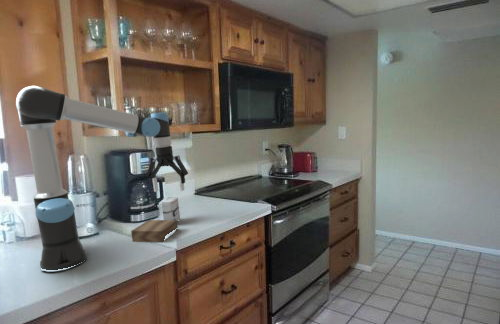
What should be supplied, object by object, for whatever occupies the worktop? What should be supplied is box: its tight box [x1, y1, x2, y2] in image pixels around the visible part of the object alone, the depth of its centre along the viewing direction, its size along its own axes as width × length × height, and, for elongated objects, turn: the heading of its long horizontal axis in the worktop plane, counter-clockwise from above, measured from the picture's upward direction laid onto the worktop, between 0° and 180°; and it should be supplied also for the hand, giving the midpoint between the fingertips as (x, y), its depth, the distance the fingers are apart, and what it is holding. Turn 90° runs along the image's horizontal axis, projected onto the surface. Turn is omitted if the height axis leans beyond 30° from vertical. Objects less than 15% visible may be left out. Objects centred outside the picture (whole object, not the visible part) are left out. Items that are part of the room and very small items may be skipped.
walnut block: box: [130, 219, 179, 243], centre depth 146 cm, size 14×14×5 cm
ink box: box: [161, 196, 181, 221], centre depth 161 cm, size 8×5×12 cm, turn 168°
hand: (169, 190), depth 160 cm, fingers open, 13 cm apart
